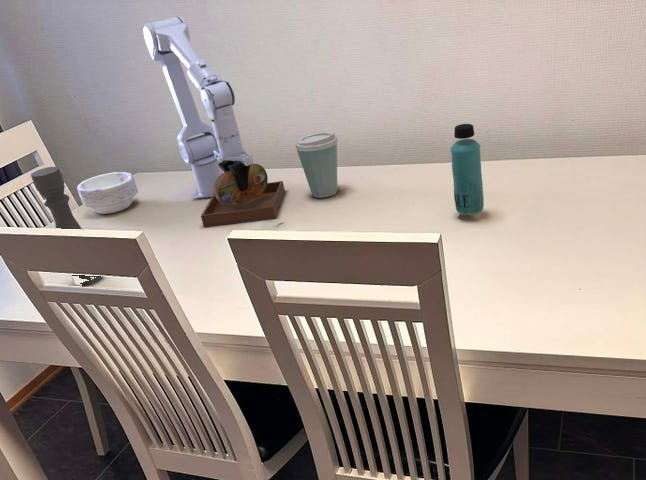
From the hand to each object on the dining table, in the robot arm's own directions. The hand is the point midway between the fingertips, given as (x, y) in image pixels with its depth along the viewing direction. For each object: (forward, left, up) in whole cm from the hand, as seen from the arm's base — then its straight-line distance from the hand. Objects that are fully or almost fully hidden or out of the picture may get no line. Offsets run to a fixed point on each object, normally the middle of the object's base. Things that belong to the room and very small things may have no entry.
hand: (240, 188), depth 178 cm
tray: (0, 0, -5) cm, 5 cm away
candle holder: (+32, -31, -6) cm, 45 cm away
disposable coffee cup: (-4, +20, -6) cm, 22 cm away
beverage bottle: (+22, +55, -6) cm, 60 cm away
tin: (0, 0, -3) cm, 3 cm away
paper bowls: (-14, -41, -6) cm, 43 cm away
